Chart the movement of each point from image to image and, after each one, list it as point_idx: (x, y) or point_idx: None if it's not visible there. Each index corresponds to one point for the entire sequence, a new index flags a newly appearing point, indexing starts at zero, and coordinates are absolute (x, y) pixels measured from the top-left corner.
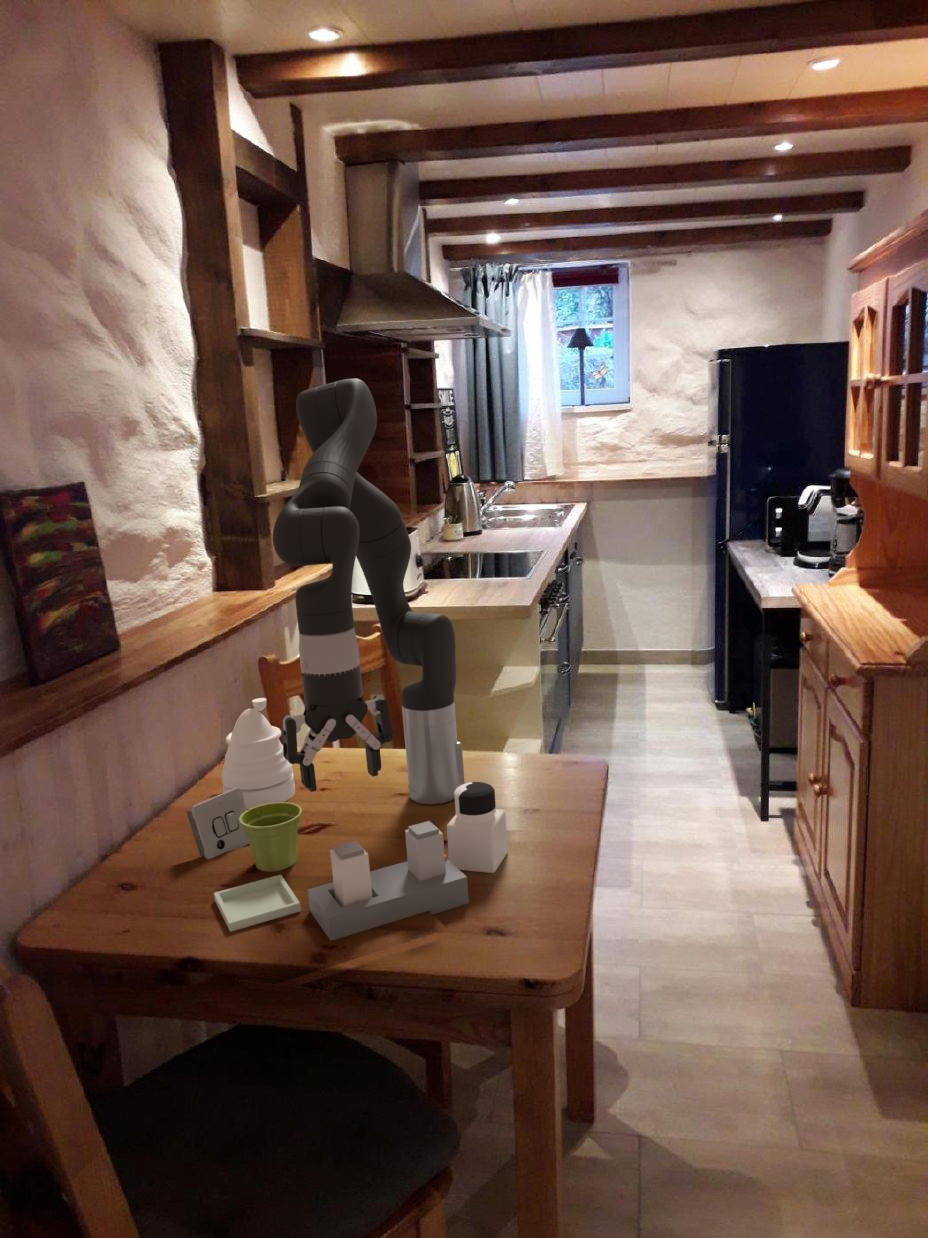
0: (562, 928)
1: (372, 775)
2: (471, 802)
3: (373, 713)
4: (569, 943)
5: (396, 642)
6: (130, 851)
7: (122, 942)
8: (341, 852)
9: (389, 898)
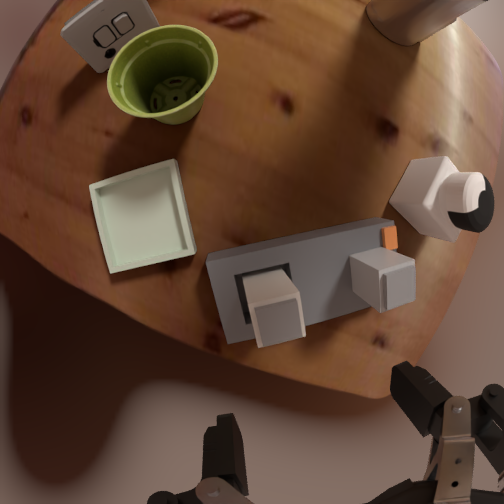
0: (419, 345)
1: (391, 390)
2: (468, 229)
3: (500, 482)
4: (412, 364)
5: None
6: (41, 42)
7: (26, 237)
8: (265, 336)
9: (308, 322)
